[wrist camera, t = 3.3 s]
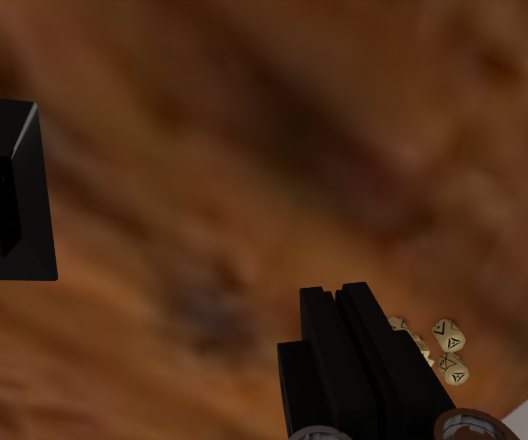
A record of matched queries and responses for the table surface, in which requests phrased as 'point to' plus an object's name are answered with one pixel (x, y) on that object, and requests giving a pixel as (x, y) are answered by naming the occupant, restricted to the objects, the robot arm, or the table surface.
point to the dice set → (448, 341)
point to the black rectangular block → (24, 197)
